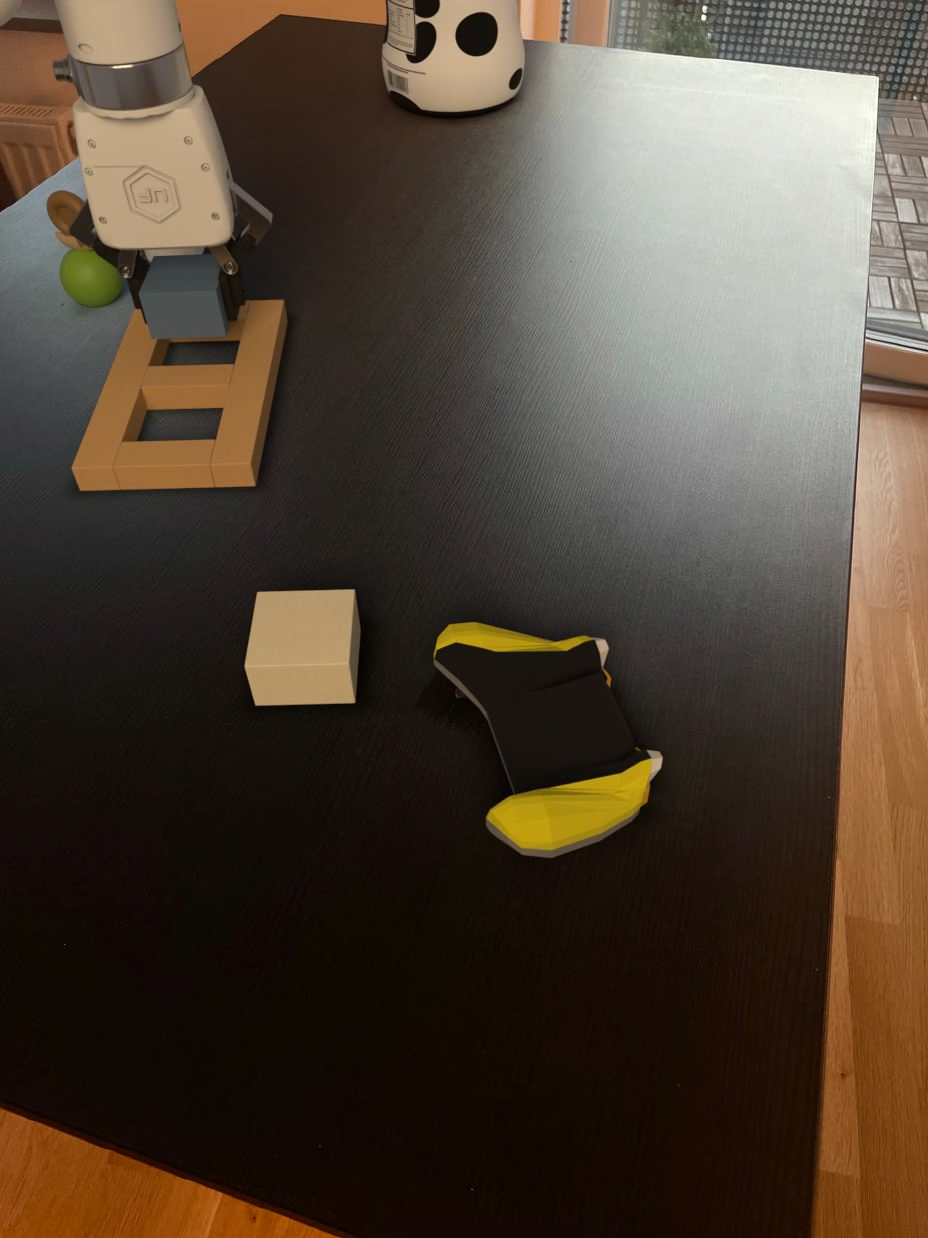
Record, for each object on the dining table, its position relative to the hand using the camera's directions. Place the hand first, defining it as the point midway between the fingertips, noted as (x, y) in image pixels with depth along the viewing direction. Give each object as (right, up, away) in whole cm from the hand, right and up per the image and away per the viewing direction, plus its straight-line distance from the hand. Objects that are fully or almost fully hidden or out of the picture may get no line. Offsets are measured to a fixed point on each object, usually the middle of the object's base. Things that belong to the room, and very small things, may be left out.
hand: (193, 311), depth 81 cm
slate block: (0, 0, 0) cm, 1 cm away
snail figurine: (-11, +4, +11) cm, 17 cm away
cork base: (0, -7, 0) cm, 7 cm away
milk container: (+21, +39, +43) cm, 62 cm away
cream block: (+13, -28, -19) cm, 36 cm away
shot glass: (-6, +11, +18) cm, 22 cm away
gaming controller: (+27, -33, -24) cm, 49 cm away
